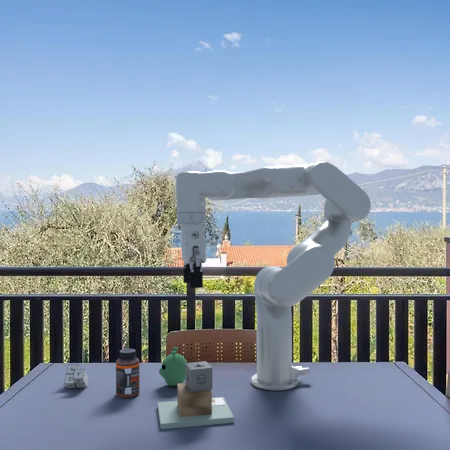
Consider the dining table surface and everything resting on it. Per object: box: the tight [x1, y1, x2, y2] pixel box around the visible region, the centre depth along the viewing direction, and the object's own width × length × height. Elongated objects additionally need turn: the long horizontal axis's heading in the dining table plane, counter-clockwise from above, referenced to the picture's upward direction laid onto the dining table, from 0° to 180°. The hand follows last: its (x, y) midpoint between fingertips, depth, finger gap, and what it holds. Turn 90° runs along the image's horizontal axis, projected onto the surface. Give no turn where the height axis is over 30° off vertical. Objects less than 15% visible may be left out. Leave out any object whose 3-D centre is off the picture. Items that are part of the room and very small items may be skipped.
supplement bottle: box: [115, 348, 141, 399], centre depth 121 cm, size 6×6×11 cm
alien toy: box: [158, 346, 188, 387], centre depth 128 cm, size 7×8×10 cm
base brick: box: [176, 382, 213, 417], centre depth 109 cm, size 7×7×5 cm
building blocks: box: [63, 364, 89, 389], centre depth 128 cm, size 5×5×8 cm
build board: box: [157, 396, 235, 430], centre depth 109 cm, size 16×12×1 cm
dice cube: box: [185, 360, 213, 392], centre depth 109 cm, size 5×5×5 cm
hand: (192, 285), depth 124 cm, fingers open, 9 cm apart
